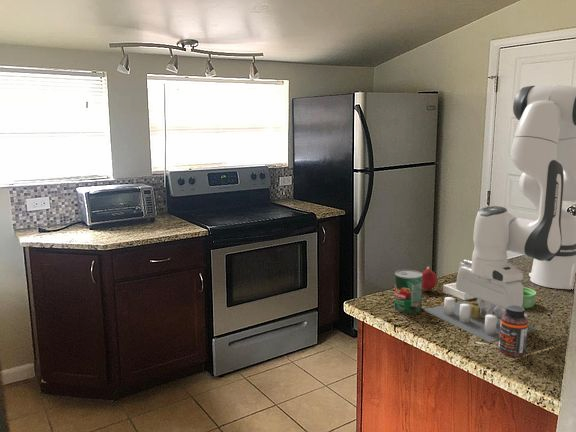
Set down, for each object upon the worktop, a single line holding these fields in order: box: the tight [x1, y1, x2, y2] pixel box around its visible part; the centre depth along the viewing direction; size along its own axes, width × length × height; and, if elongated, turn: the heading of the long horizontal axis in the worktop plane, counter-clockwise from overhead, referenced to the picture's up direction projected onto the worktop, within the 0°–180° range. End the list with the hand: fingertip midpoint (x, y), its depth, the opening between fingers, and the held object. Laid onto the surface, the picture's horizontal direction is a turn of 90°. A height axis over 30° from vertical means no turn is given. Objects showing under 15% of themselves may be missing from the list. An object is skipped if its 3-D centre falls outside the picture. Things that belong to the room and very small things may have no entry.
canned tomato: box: [393, 269, 423, 314], centre depth 152 cm, size 8×8×11 cm
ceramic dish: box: [442, 282, 477, 301], centre depth 164 cm, size 9×9×2 cm
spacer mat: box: [422, 296, 538, 343], centre depth 143 cm, size 17×25×5 cm
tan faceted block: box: [467, 301, 484, 319], centre depth 146 cm, size 5×4×4 cm
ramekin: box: [522, 286, 537, 309], centre depth 155 cm, size 9×9×4 cm
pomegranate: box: [421, 266, 438, 292], centre depth 167 cm, size 6×6×8 cm
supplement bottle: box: [498, 305, 529, 358], centre depth 123 cm, size 6×6×11 cm
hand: (485, 315), depth 143 cm, fingers closed
